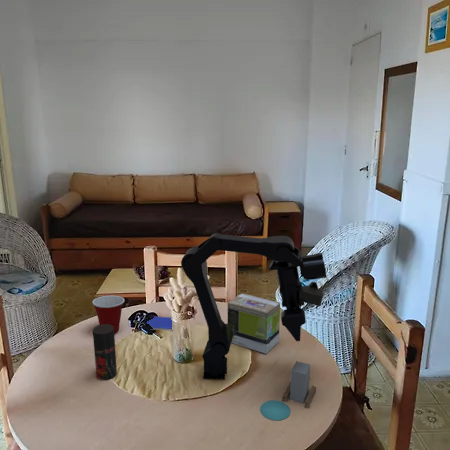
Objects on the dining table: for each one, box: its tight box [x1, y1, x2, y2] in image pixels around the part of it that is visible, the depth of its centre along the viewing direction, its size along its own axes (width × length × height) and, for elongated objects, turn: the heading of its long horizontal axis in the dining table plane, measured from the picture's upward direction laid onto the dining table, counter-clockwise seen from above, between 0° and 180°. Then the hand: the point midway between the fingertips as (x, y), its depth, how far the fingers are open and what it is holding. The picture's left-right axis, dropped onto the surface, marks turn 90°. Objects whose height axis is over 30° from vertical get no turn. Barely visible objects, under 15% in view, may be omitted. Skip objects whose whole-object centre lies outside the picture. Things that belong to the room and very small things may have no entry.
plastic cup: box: [92, 295, 125, 335], centre depth 160 cm, size 11×11×12 cm
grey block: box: [289, 361, 311, 404], centre depth 126 cm, size 4×5×9 cm
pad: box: [259, 399, 292, 421], centre depth 121 cm, size 8×8×1 cm
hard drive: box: [147, 316, 173, 331], centre depth 167 cm, size 2×8×12 cm
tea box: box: [227, 292, 281, 354], centre depth 153 cm, size 15×10×15 cm
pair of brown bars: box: [281, 380, 317, 409], centre depth 127 cm, size 7×8×2 cm
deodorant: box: [92, 324, 118, 381], centre depth 134 cm, size 6×6×15 cm
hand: (298, 332), depth 130 cm, fingers open, 9 cm apart
